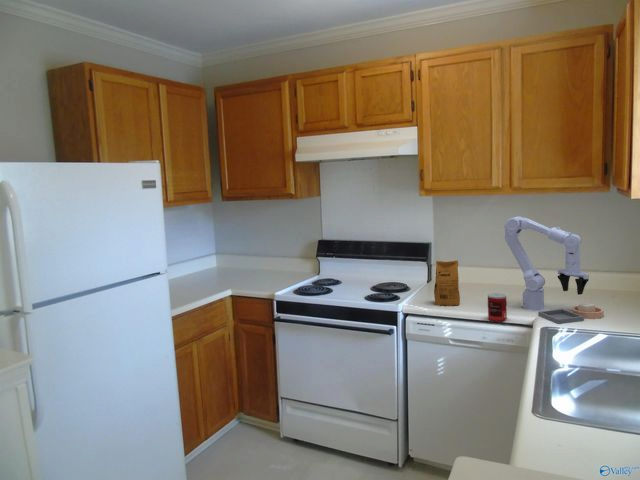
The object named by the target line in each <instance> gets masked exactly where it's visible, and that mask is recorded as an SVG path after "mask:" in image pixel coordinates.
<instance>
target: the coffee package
mask: <svg viewBox="0 0 640 480" xmlns="http://www.w3.org/2000/svg"><path fill="white" fill-rule="evenodd" d="M458 267H459V260H450V261H442V260H436V261H435V283H434V289H433V293H434V304H435V305H436V306H437V305H440V306H446V305H448V306H447V307H452V306H451V305H454V306H460V303H461V295H460V290H459V268H458ZM449 305H450V306H449Z"/></svg>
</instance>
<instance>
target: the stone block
mask: <svg viewBox="0 0 640 480" xmlns="http://www.w3.org/2000/svg"><path fill="white" fill-rule="evenodd" d="M577 306H578V311H581V312H592V313H594V312H595V307H596V304H592V303H589V302H586V303H579V304H578V305H577Z"/></svg>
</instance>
